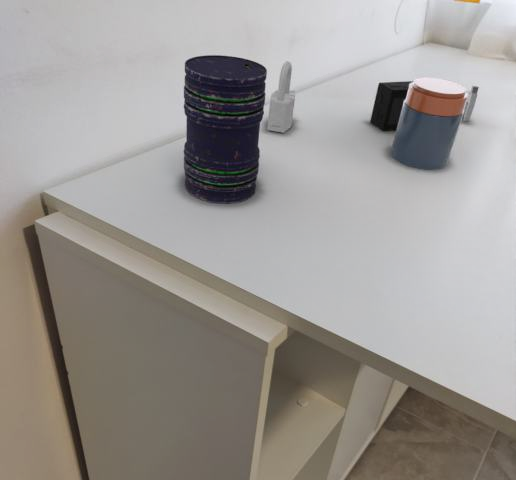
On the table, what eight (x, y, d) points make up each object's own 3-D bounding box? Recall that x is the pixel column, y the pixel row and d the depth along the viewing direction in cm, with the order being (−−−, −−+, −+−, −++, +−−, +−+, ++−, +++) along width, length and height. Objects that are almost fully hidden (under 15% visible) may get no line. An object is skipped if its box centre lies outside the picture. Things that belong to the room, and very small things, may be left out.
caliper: (468, 124, 102) (480, 89, 98) (462, 123, 102) (474, 88, 98) (455, 92, 117) (465, 61, 113) (450, 91, 117) (460, 60, 113)
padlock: (273, 117, 95) (279, 55, 88) (295, 121, 94) (303, 58, 88) (263, 130, 90) (269, 65, 83) (286, 134, 89) (295, 69, 83)
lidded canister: (441, 150, 90) (463, 80, 83) (451, 172, 84) (477, 98, 76) (387, 143, 90) (404, 73, 83) (393, 165, 83) (413, 91, 76)
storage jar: (204, 209, 67) (208, 82, 57) (171, 177, 73) (169, 57, 63) (270, 196, 72) (284, 76, 62) (234, 166, 78) (241, 53, 68)
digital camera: (386, 134, 94) (396, 91, 89) (369, 122, 97) (378, 81, 93) (433, 130, 98) (445, 89, 93) (415, 119, 101) (426, 79, 96)
